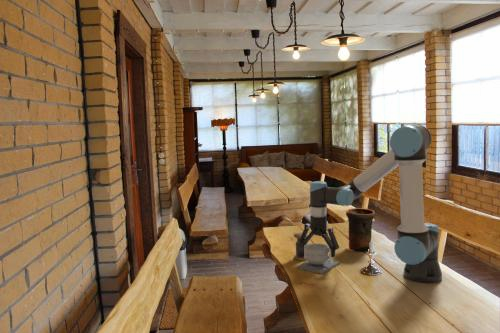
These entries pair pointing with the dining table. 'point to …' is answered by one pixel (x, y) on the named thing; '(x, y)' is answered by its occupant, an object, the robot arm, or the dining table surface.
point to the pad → (318, 266)
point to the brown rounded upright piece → (299, 248)
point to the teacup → (316, 253)
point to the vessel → (359, 229)
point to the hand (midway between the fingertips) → (318, 260)
